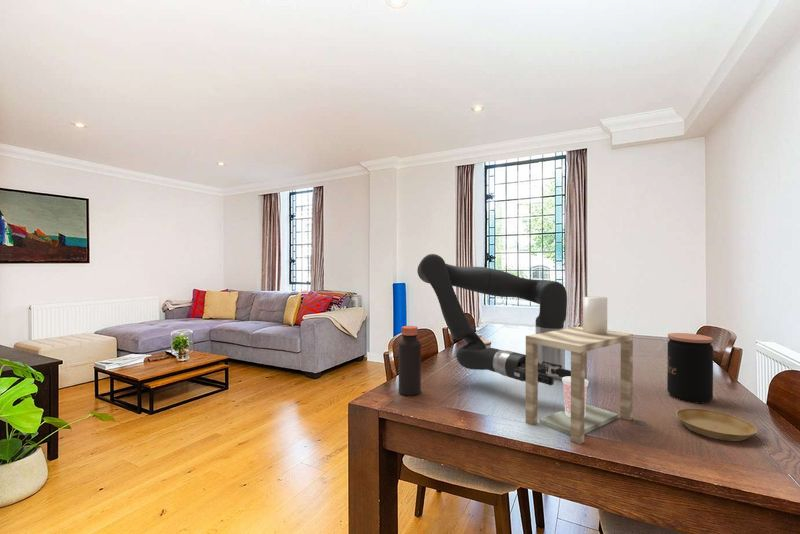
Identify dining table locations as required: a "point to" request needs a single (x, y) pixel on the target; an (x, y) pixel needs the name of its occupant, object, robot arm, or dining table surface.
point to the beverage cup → (567, 394)
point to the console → (578, 379)
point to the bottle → (409, 362)
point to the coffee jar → (690, 367)
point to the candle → (595, 315)
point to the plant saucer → (703, 418)
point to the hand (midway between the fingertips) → (562, 378)
